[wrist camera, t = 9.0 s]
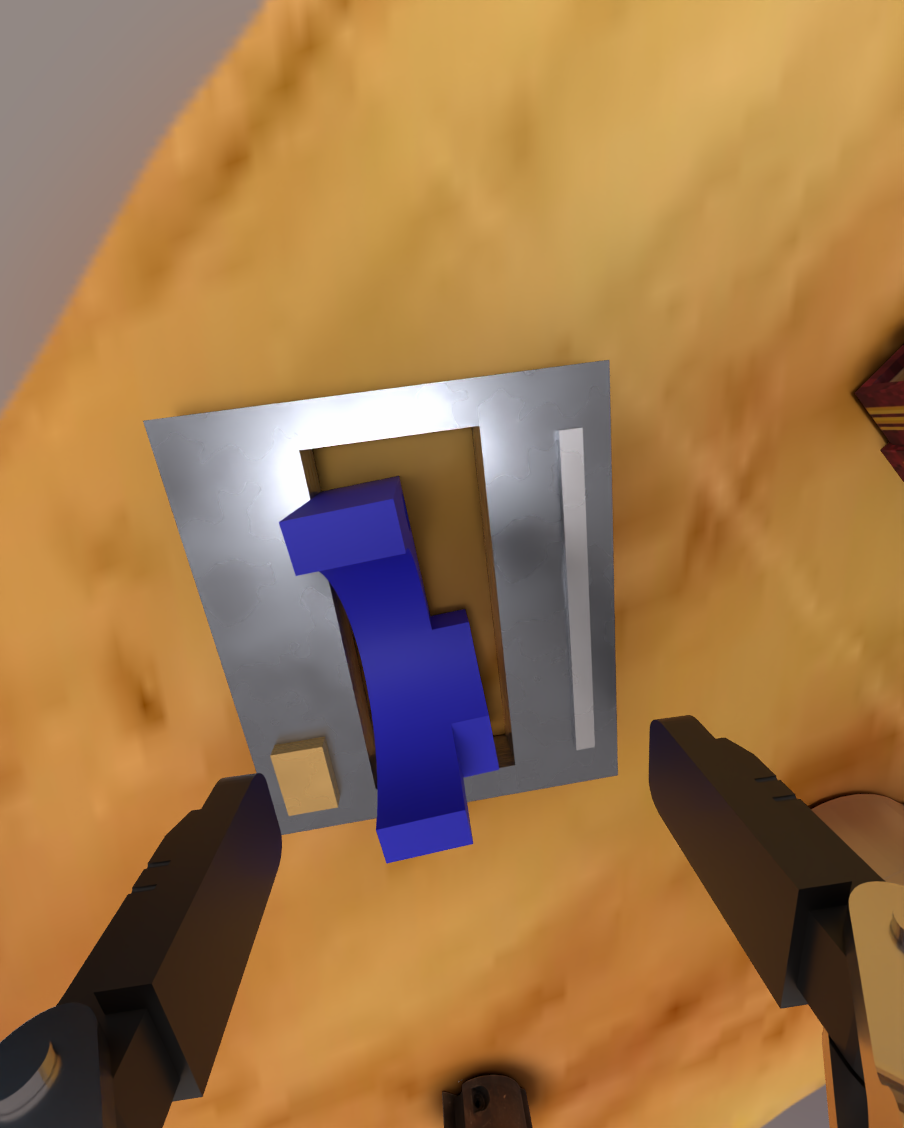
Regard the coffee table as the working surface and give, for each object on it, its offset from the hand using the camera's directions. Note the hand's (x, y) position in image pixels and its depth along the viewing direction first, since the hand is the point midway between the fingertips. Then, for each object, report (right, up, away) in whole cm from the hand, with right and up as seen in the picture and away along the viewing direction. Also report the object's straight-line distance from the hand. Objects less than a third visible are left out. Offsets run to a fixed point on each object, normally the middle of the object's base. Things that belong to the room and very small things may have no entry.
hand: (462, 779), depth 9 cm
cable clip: (-2, +2, +10) cm, 10 cm away
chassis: (-2, +3, +9) cm, 10 cm away
